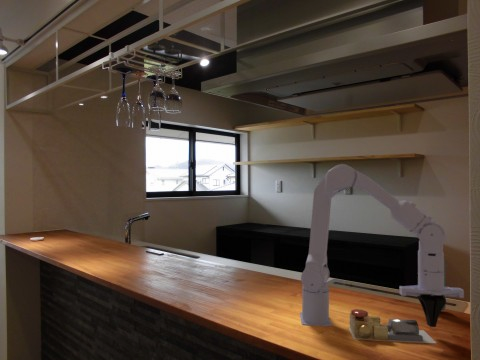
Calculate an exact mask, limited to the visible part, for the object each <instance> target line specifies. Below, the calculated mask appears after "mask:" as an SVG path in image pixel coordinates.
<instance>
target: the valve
mask: <svg viewBox="0 0 480 360" xmlns="http://www.w3.org/2000/svg"><path fill="white" fill-rule="evenodd" d="M380 324H381V318H380V316H373V315H372V316H370V315H369V312H368V311H367V310H363V309H359V308H358V309H356V308H355V309H352V310H351V311H350V312H349V327H350V330H351V332H352V333H353V335H354V337H355V338H365V339H367V338H372V339H374V340H373V341H375V340H383V341H382V342H389V341H388V327H387V326H380ZM350 330H349V331H350ZM351 332H350V333H351Z"/></svg>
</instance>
